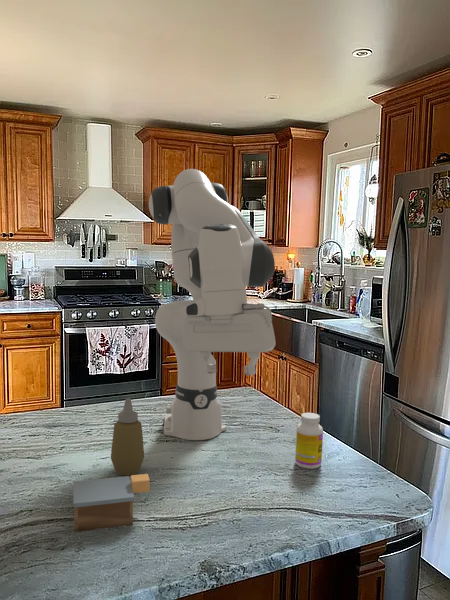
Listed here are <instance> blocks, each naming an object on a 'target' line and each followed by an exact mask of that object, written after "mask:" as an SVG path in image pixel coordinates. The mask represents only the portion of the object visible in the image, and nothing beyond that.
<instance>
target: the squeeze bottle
mask: <svg viewBox="0 0 450 600" xmlns="http://www.w3.org/2000/svg"><path fill="white" fill-rule="evenodd" d="M131 399H132V398H130V397H126V398H125V400H124V404H123V408H122V410H121V411H120V412H118V415H117V416H118V417H117V421H116V422H115V423H114V424H113V432H112V443H111V451H110V460H111V463H112V466H113V469H114V472H115V473H116V474H117V475H120V476H131V475H137V473H139V472H140V470H141V467H142V466H143V463H144V459H145V448H144V447H145V446H144V435H143V428H142V427H143V426H142V422H141V421H139V414H138V412H137V411H135V410H134V409H133V403H132V400H131Z"/></svg>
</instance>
